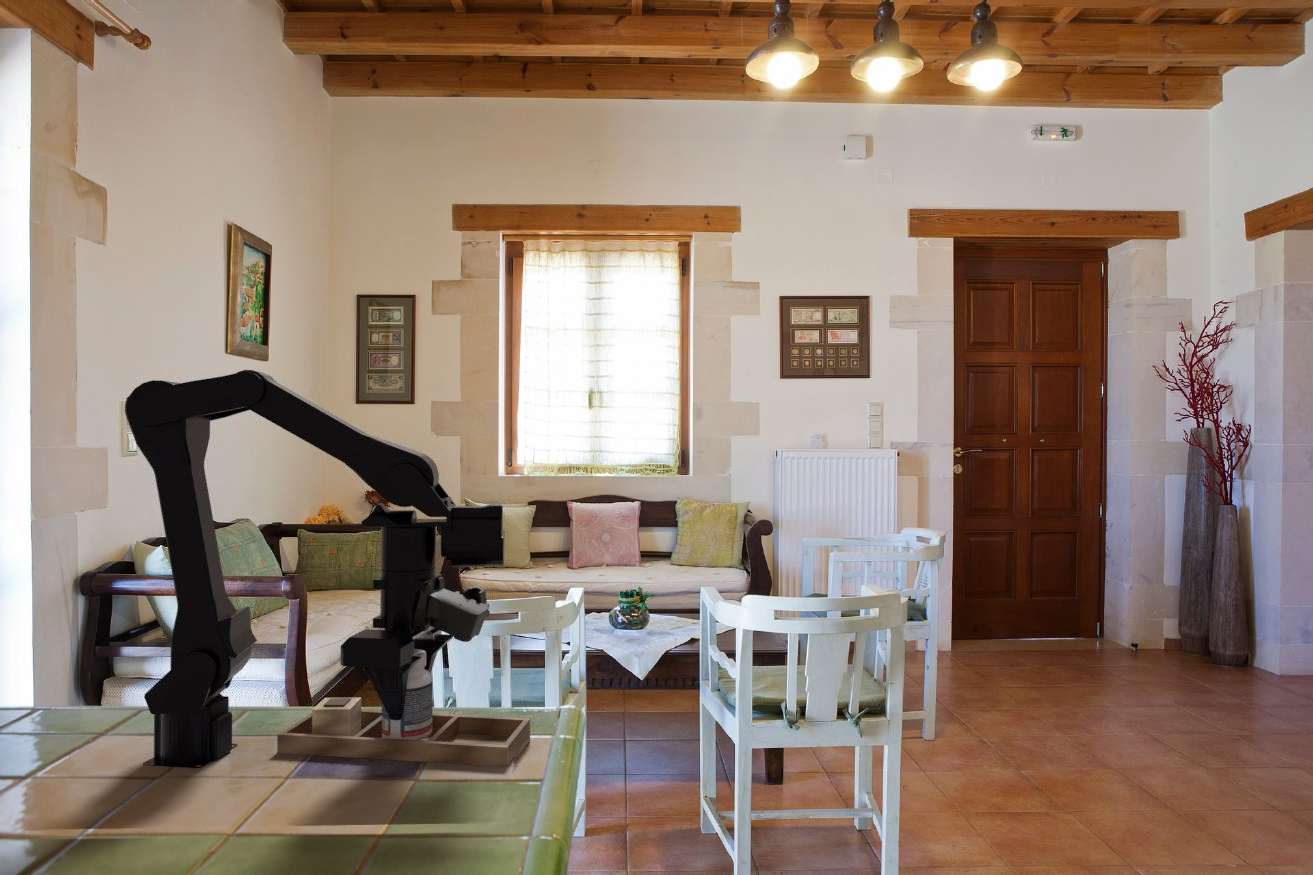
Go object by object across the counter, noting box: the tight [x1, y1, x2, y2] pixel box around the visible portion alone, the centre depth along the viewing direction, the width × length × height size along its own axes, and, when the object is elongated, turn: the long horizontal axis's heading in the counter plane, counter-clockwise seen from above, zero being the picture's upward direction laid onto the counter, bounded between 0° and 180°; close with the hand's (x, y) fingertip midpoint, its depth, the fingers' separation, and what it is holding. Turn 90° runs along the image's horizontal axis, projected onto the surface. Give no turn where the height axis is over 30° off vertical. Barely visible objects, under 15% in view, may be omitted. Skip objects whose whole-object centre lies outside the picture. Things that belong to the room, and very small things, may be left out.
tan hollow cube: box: [311, 696, 362, 737], centre depth 92 cm, size 4×4×4 cm
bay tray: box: [276, 709, 531, 768], centre depth 91 cm, size 25×9×2 cm, turn 83°
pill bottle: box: [381, 649, 433, 740], centre depth 91 cm, size 5×5×9 cm
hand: (406, 711), depth 91 cm, fingers closed on pill bottle, 5 cm apart
